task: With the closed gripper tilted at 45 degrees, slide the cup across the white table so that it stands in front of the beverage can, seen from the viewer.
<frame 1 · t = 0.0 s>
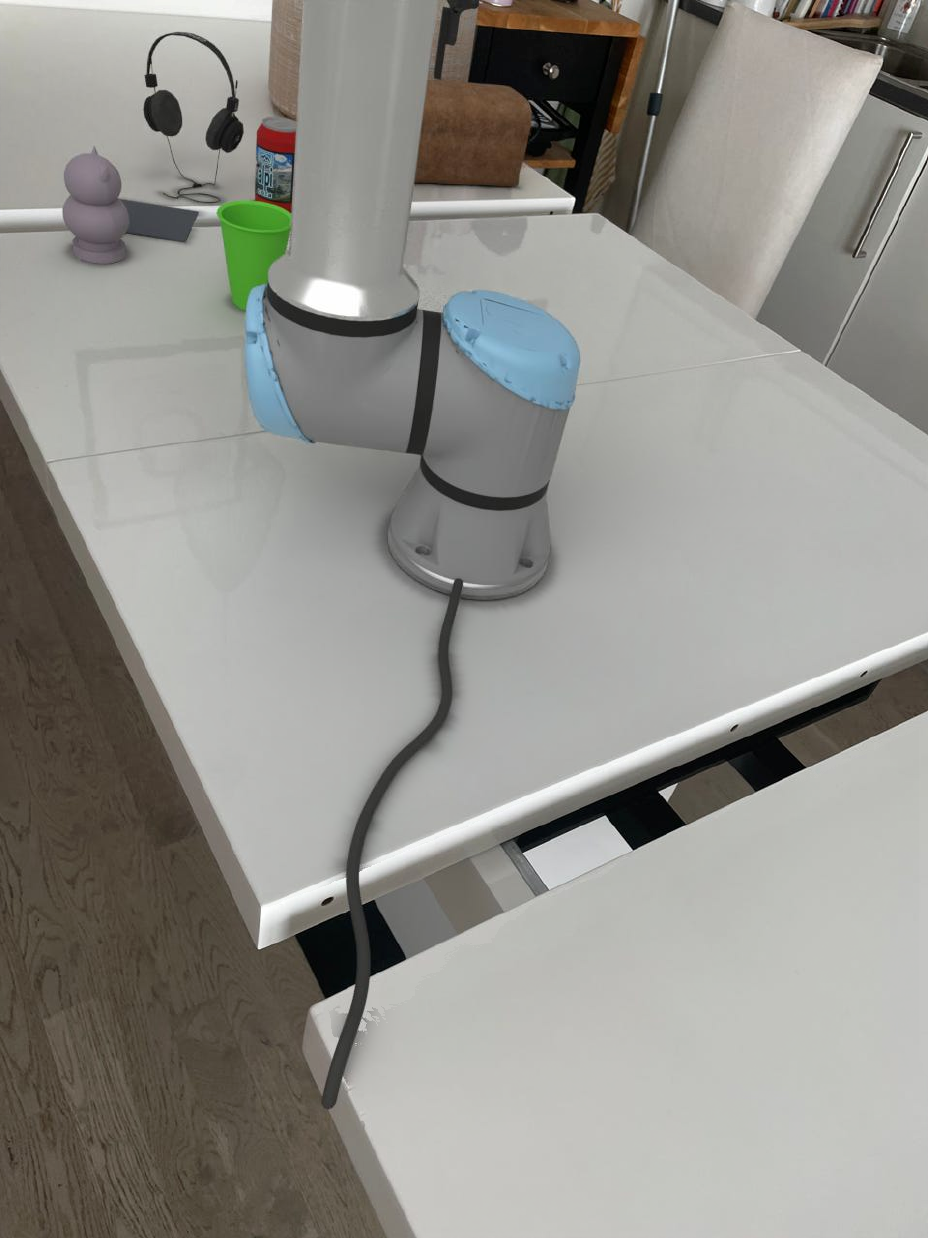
hand: (376, 65, 109), 28 cm above the table, tool pointing down, fingers open, 13 cm apart
beverage can: (277, 209, 147), on the table
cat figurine: (98, 254, 126), on the table
cup: (253, 304, 123), on the table
placemat: (151, 220, 136), on the table
headphones: (185, 187, 148), on the table
bread: (417, 171, 171), on the table
planter: (364, 119, 188), on the table
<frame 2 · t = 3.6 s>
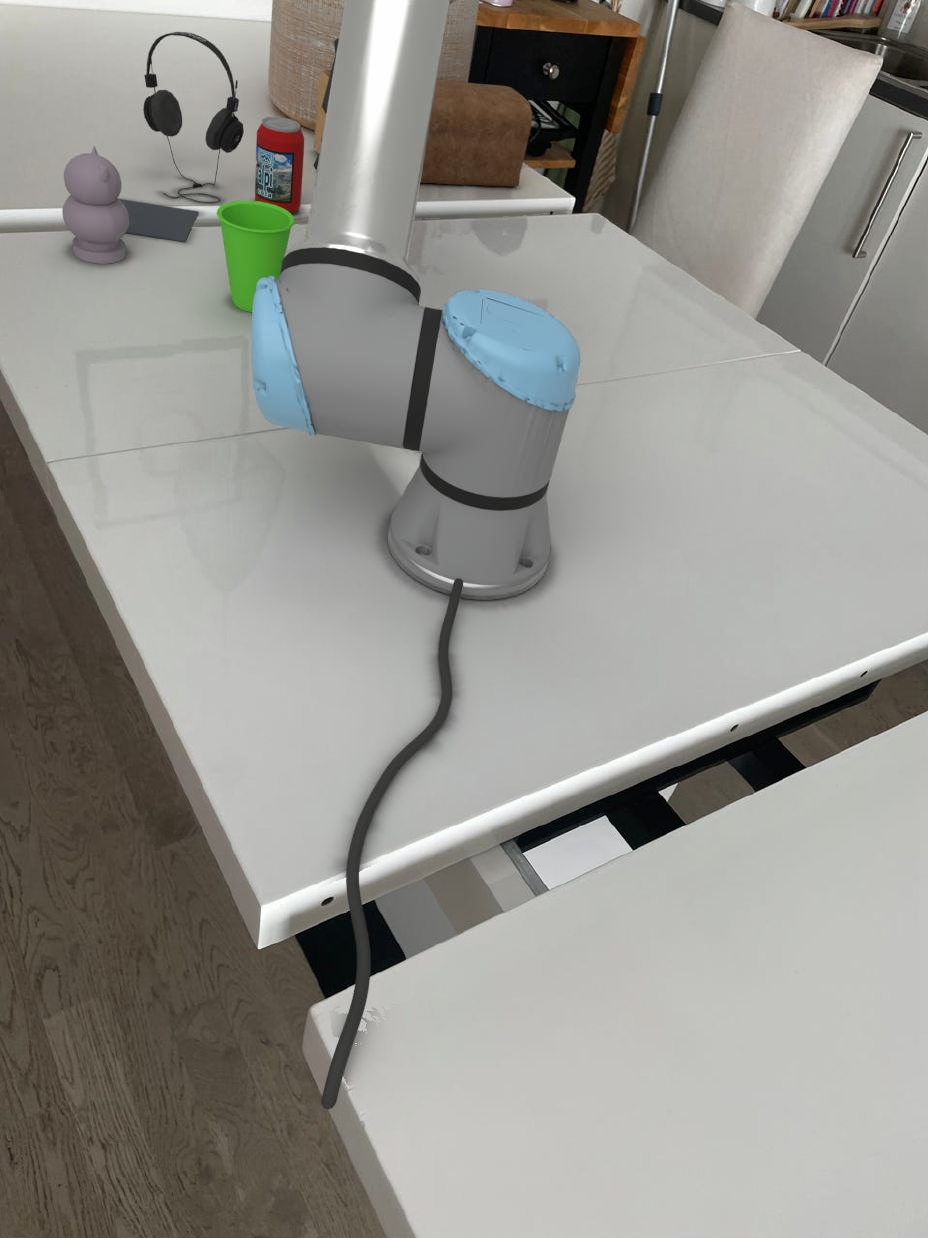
hand: (322, 172, 124), 13 cm above the table, tool tilted 45°, fingers closed
nothing on the table moved.
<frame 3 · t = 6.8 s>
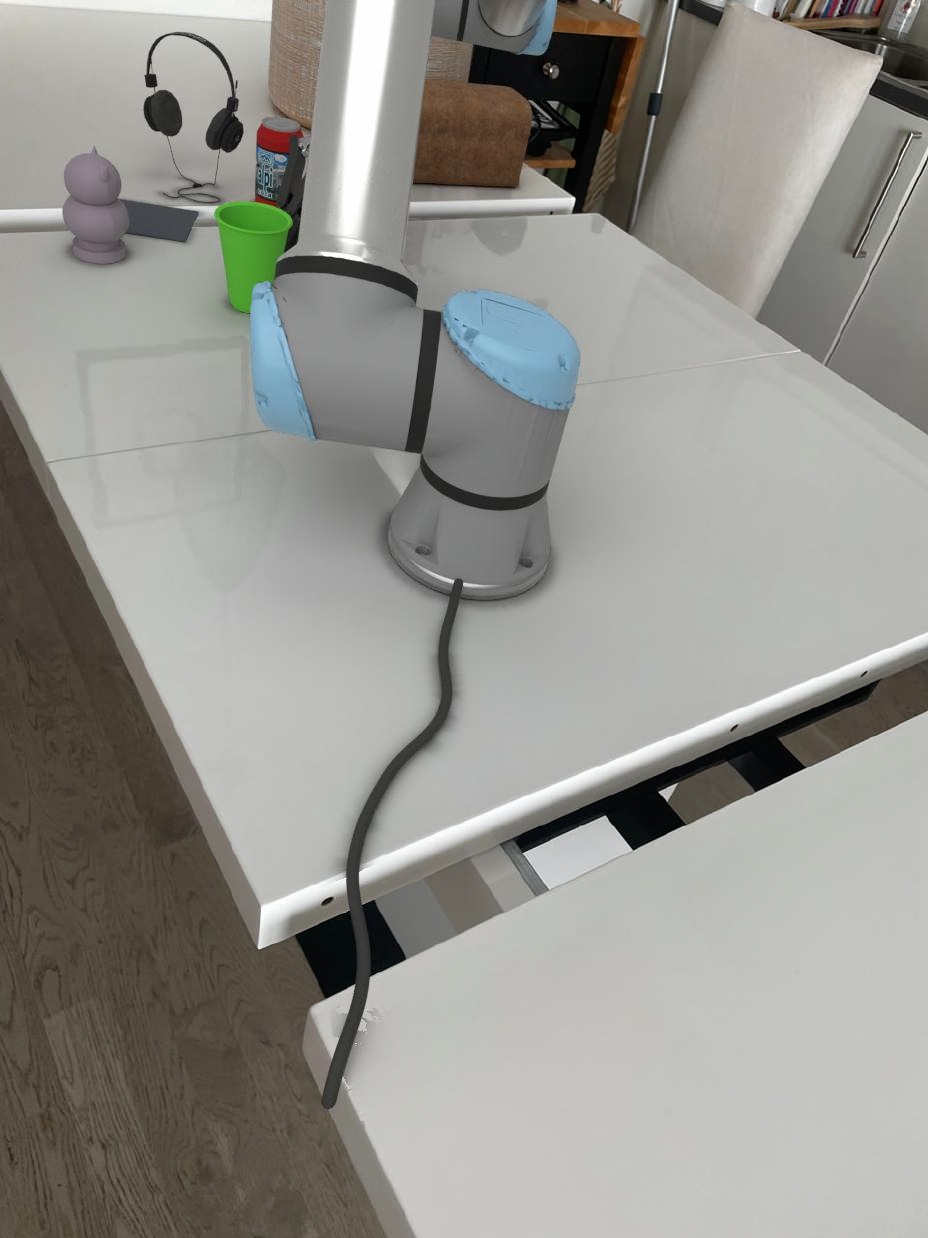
hand: (276, 269, 124), 3 cm above the table, tool tilted 45°, fingers closed
cup: (251, 306, 123), on the table, touching gripper
everything else where it was.
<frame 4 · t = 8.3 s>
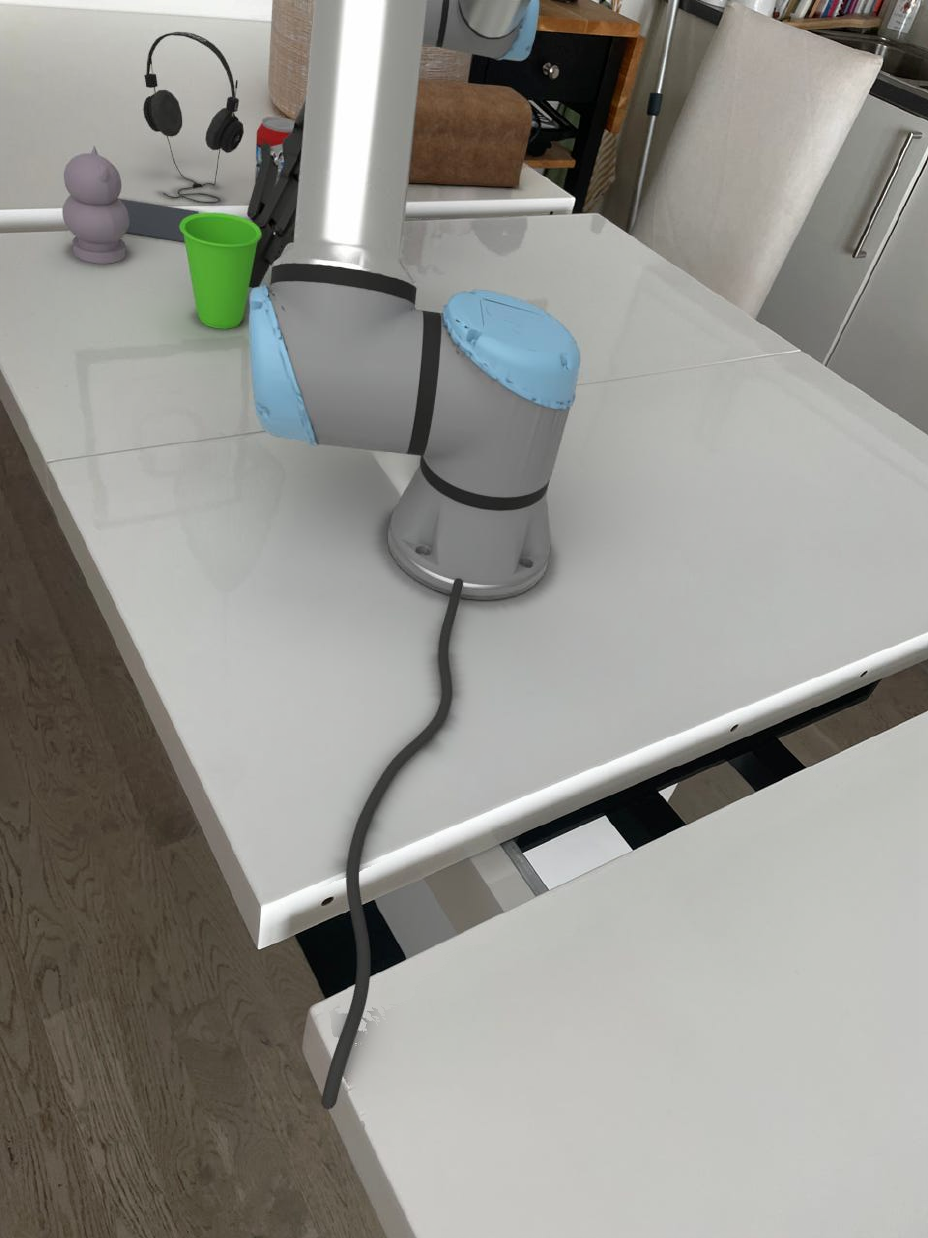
hand: (247, 282, 120), 3 cm above the table, tool tilted 45°, fingers closed
cup: (220, 320, 118), on the table, touching gripper
everything else where it was.
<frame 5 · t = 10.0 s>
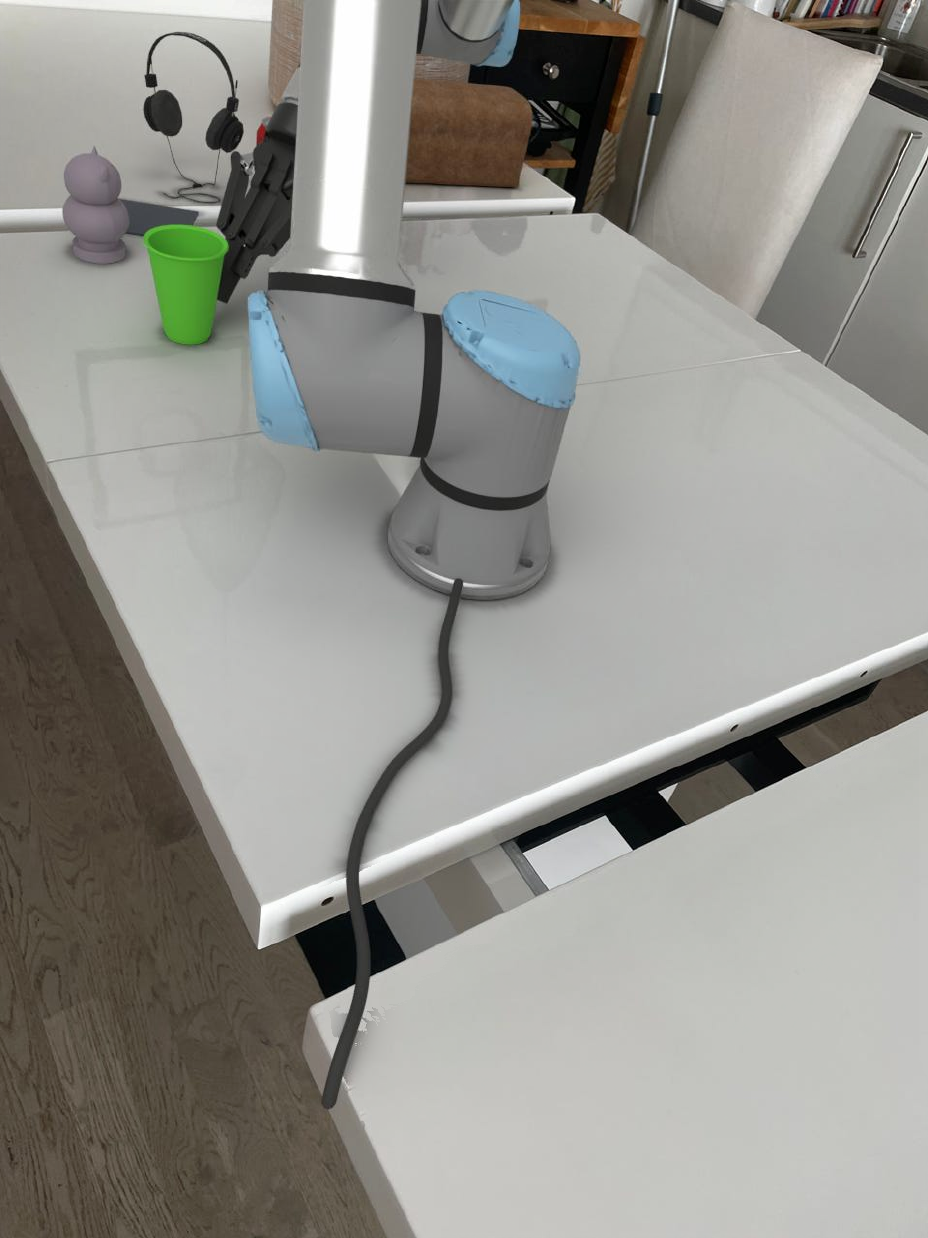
hand: (216, 296, 116), 3 cm above the table, tool tilted 45°, fingers closed
cup: (187, 336, 114), on the table, touching gripper
everything else where it was.
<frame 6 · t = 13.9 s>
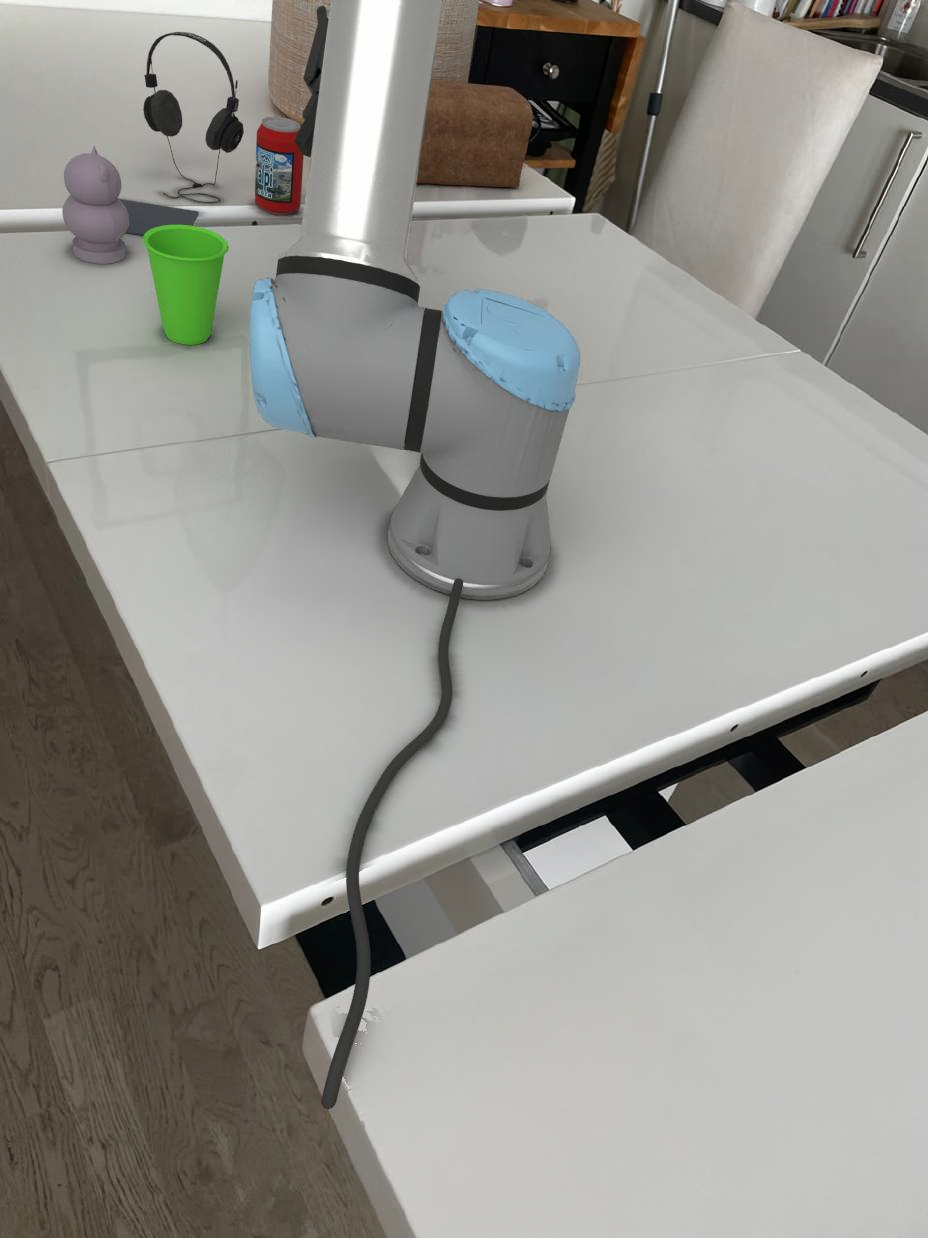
hand: (303, 149, 115), 18 cm above the table, tool tilted 45°, fingers closed
cup: (187, 336, 114), on the table
everything else where it was.
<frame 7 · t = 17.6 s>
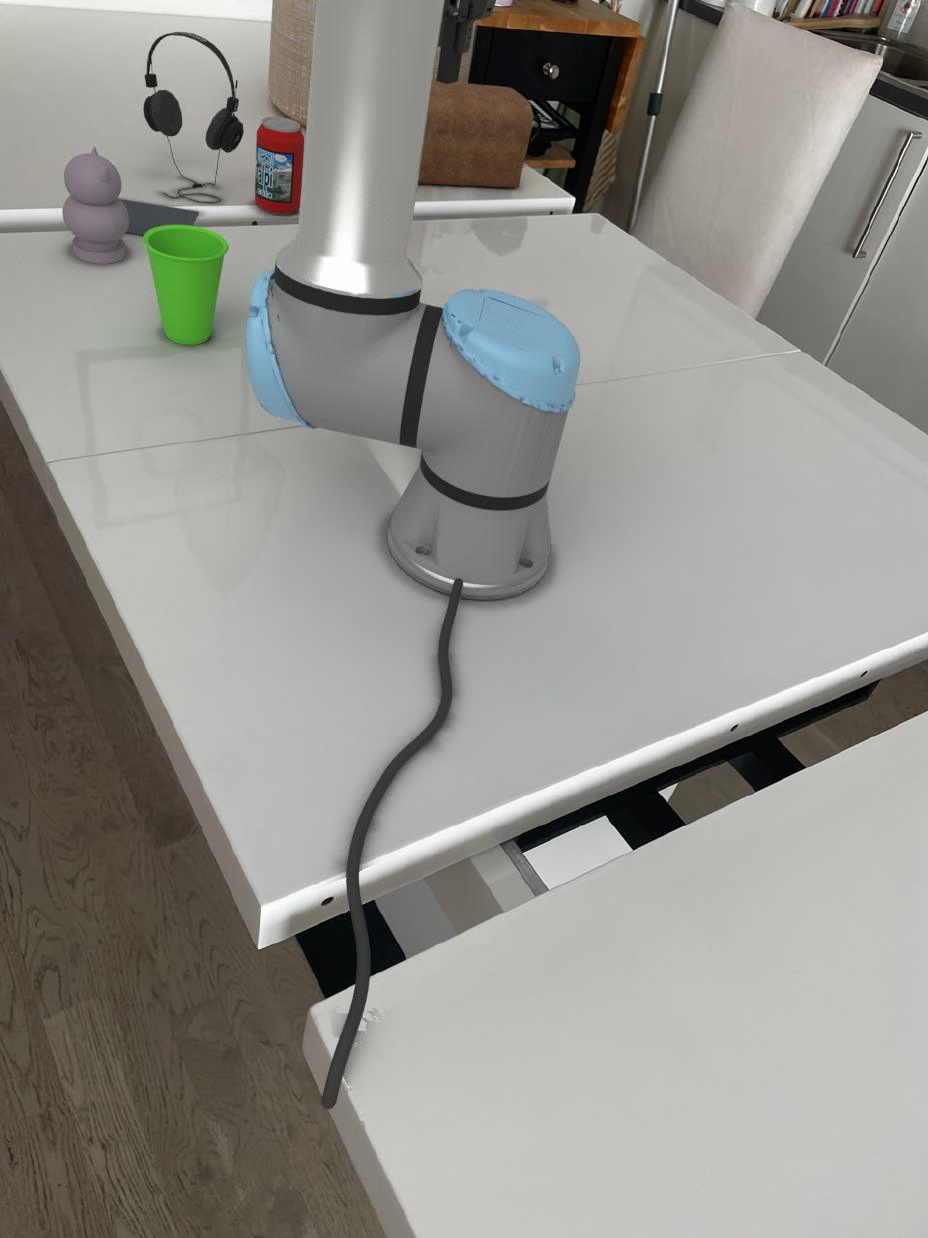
hand: (447, 80, 116), 26 cm above the table, tool pointing down, fingers closed
nothing on the table moved.
at the end: cup moved 12.3 cm from its start; cup tilted 0° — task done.
